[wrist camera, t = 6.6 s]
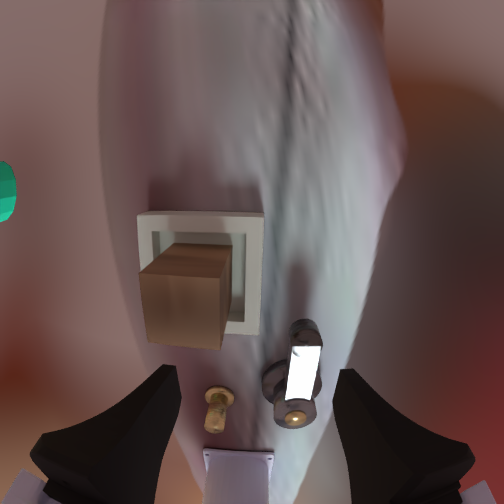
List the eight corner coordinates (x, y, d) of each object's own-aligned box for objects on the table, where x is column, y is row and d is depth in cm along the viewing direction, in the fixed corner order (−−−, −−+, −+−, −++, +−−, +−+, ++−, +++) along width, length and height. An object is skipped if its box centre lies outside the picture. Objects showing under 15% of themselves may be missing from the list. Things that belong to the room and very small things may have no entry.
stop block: (231, 300, 20) (220, 350, 14) (176, 296, 20) (148, 342, 14) (232, 245, 19) (219, 278, 13) (174, 242, 19) (138, 273, 13)
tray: (259, 320, 21) (259, 335, 19) (156, 313, 21) (147, 326, 19) (263, 212, 19) (264, 217, 17) (148, 210, 19) (136, 215, 17)
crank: (308, 402, 21) (313, 430, 18) (271, 403, 22) (272, 431, 18) (325, 312, 19) (336, 338, 16) (280, 312, 19) (283, 338, 16)
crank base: (313, 406, 23) (318, 438, 19) (206, 403, 23) (199, 435, 20) (324, 358, 22) (333, 390, 18) (202, 354, 22) (192, 386, 18)
